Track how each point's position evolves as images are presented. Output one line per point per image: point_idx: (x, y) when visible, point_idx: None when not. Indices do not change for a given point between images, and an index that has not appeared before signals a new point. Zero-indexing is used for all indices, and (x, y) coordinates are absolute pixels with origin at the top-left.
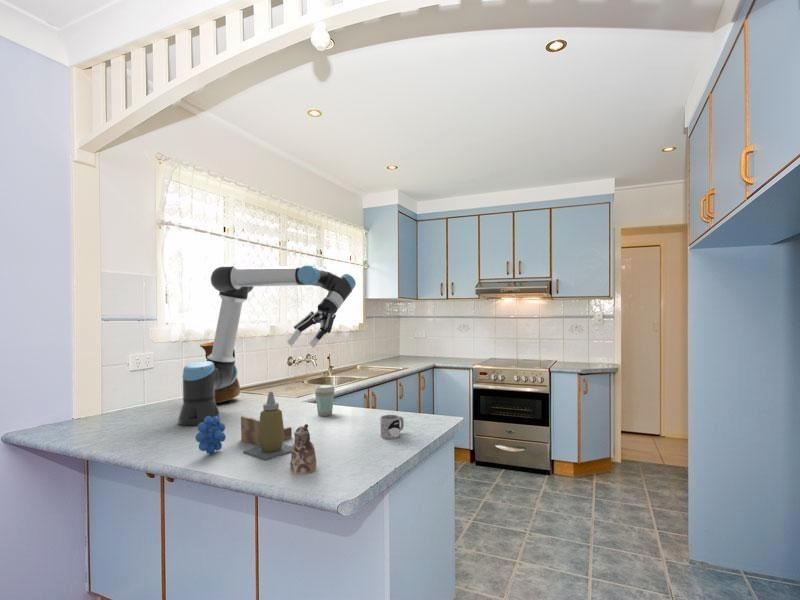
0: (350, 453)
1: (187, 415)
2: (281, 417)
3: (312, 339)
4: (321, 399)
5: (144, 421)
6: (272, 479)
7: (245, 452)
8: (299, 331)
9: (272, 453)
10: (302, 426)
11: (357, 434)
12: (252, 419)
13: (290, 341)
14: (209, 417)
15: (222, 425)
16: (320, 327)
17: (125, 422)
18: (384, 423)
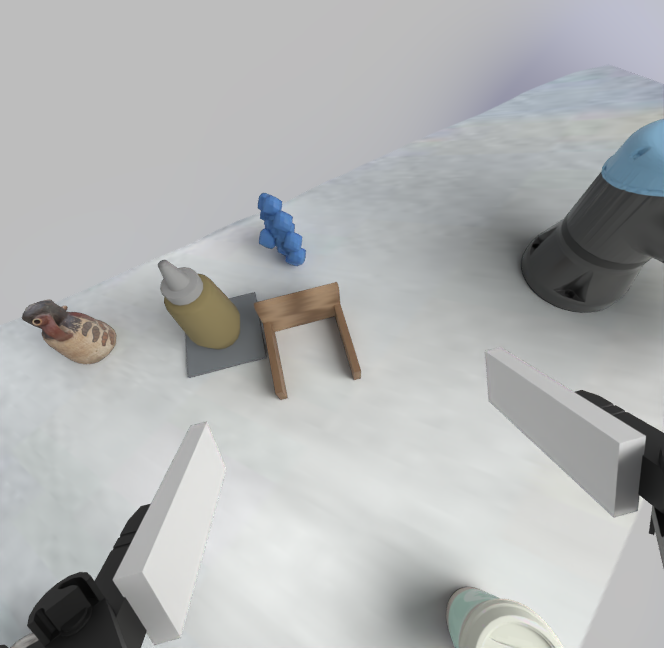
0: (81, 456)
1: (543, 232)
2: (173, 317)
3: (178, 452)
4: (465, 610)
5: None
6: (104, 296)
7: (247, 294)
8: (612, 481)
9: None
10: (31, 309)
11: None
12: (288, 294)
13: (496, 378)
14: (265, 201)
15: (284, 240)
16: (65, 595)
17: None
18: None
